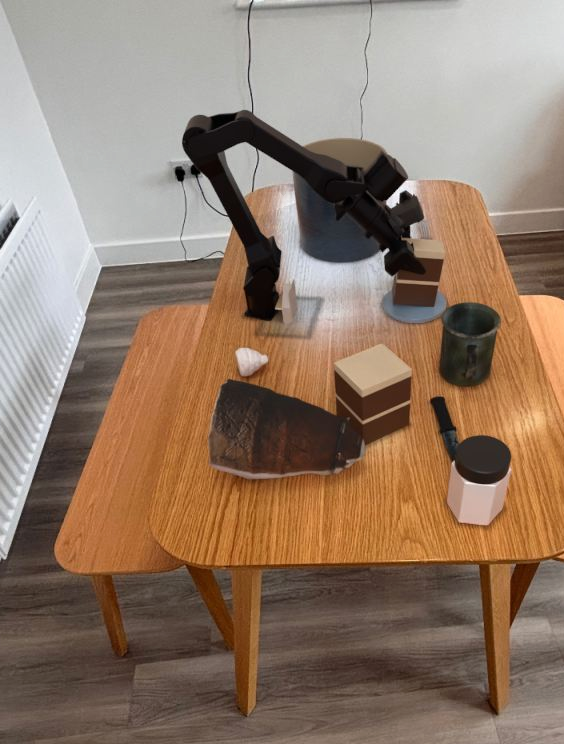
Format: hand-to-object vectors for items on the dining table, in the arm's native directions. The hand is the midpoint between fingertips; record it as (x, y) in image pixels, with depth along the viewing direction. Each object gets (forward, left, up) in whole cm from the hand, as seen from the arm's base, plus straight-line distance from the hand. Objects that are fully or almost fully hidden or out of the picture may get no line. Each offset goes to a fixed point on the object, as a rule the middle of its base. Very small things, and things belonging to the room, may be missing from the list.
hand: (423, 266), depth 135 cm
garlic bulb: (-24, -34, -9) cm, 42 cm away
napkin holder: (-26, -13, -10) cm, 31 cm away
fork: (-12, +38, -9) cm, 42 cm away
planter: (-27, +21, -9) cm, 36 cm away
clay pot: (-6, -55, -9) cm, 56 cm away
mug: (+16, -22, -9) cm, 28 cm away
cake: (+3, -40, -9) cm, 41 cm away
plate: (-1, -1, -9) cm, 9 cm away
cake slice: (-2, -1, -8) cm, 8 cm away
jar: (+26, -54, -9) cm, 60 cm away
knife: (+18, -40, -9) cm, 44 cm away
